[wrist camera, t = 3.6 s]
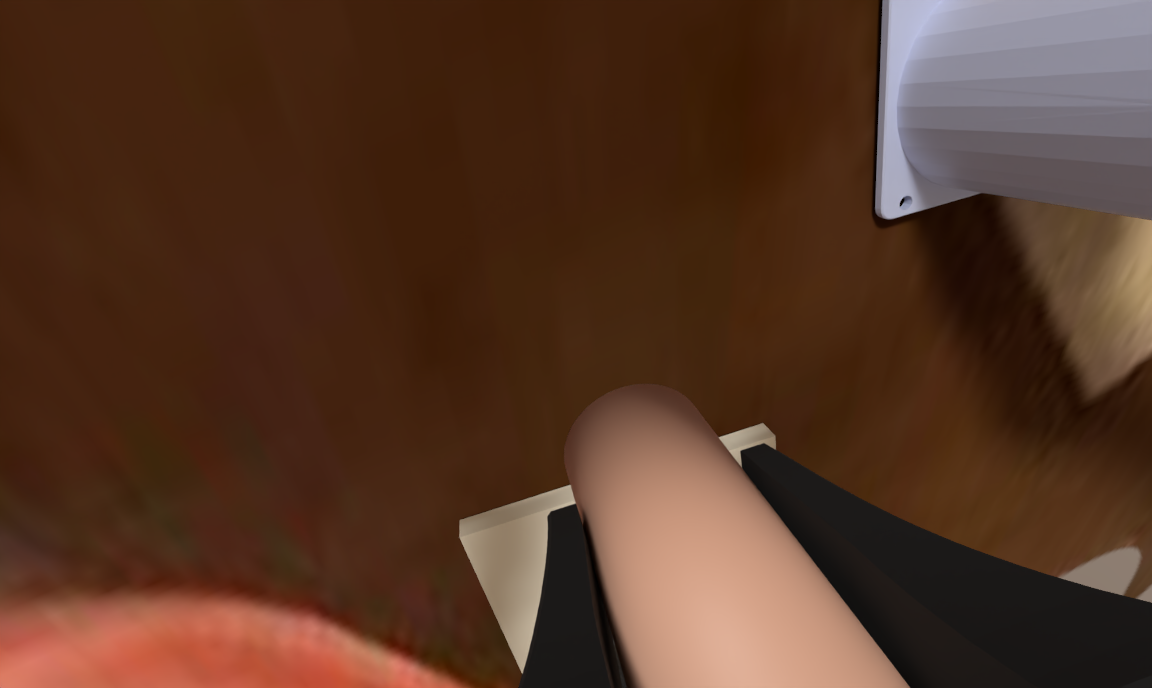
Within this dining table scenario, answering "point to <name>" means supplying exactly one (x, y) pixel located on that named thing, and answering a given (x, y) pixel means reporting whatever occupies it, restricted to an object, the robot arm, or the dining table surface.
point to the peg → (703, 559)
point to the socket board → (537, 550)
